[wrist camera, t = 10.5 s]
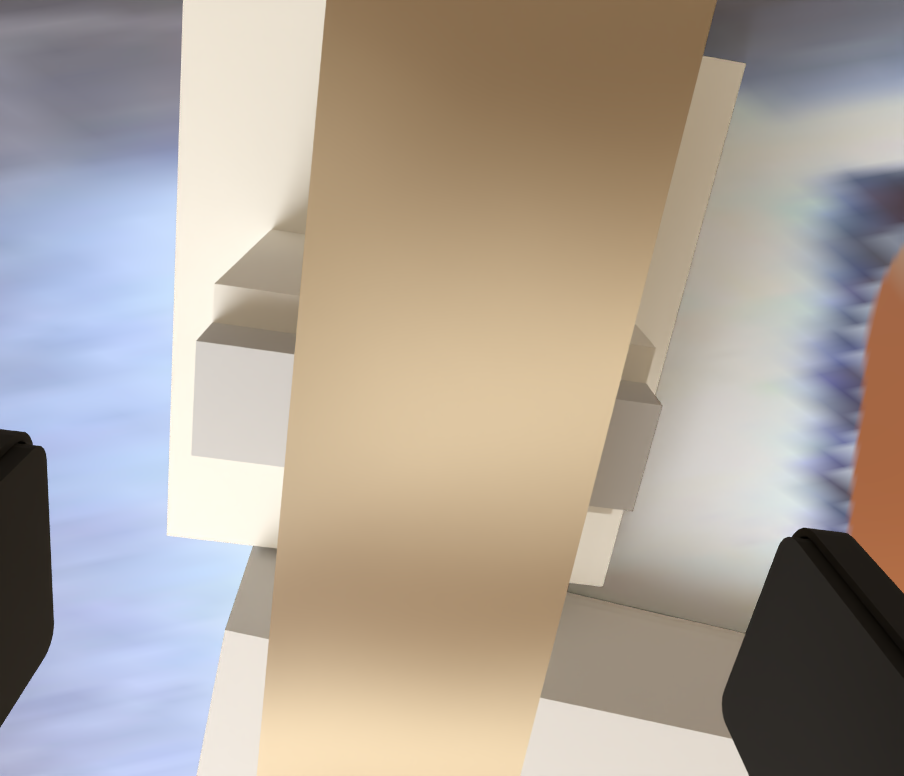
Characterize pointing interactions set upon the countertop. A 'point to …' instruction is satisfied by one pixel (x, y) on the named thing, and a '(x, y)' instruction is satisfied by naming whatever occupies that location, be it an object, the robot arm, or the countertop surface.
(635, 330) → the balance stand
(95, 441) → the countertop surface
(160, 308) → the countertop surface
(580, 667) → the white flat block
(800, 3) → the countertop surface
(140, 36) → the countertop surface
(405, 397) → the beech batten
